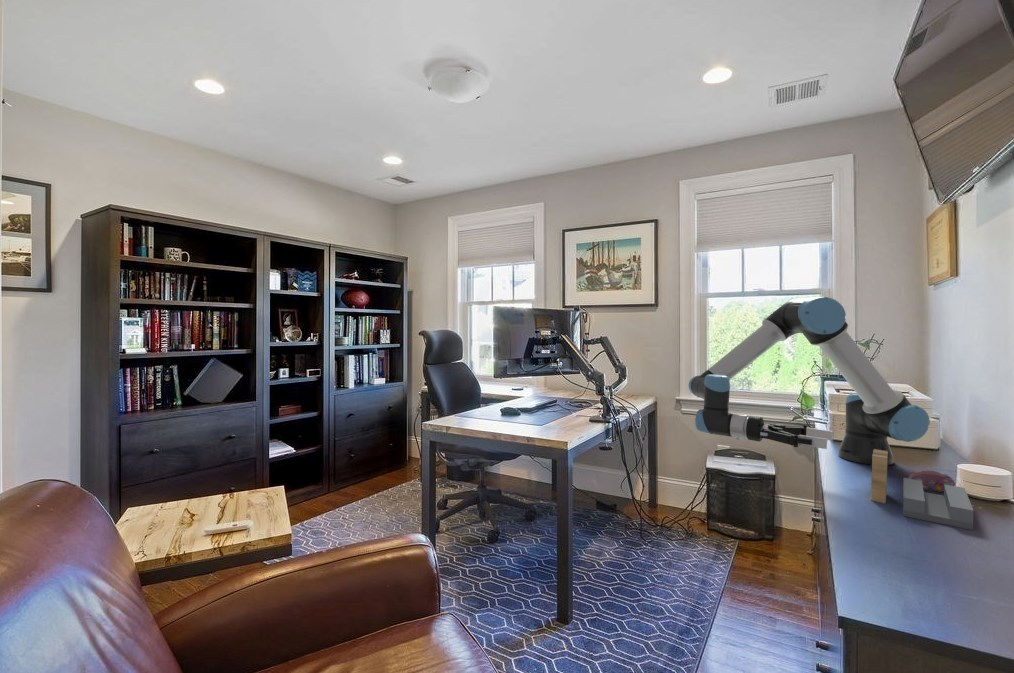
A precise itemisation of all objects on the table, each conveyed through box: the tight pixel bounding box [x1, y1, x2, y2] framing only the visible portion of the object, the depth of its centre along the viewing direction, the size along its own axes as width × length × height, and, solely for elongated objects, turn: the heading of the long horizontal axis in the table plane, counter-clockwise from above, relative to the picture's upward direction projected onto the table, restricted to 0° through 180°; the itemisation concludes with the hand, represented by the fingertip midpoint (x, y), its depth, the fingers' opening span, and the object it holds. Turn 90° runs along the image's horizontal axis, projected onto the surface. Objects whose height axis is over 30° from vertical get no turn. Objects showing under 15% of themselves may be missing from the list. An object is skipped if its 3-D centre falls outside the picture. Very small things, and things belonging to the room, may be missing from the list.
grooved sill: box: [902, 477, 974, 531], centre depth 117 cm, size 20×12×4 cm, turn 140°
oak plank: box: [870, 449, 888, 504], centre depth 125 cm, size 9×3×12 cm, turn 140°
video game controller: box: [907, 469, 956, 493], centre depth 131 cm, size 10×5×7 cm, turn 62°
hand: (829, 439), depth 132 cm, fingers open, 13 cm apart
